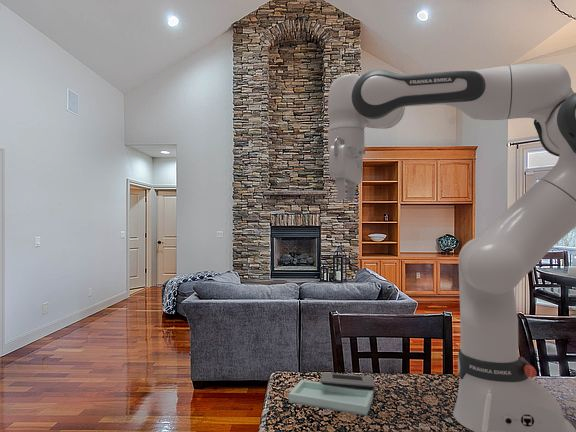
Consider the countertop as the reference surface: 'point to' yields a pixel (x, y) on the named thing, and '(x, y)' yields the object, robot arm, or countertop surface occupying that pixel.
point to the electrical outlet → (347, 380)
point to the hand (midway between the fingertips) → (346, 200)
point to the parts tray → (332, 397)
